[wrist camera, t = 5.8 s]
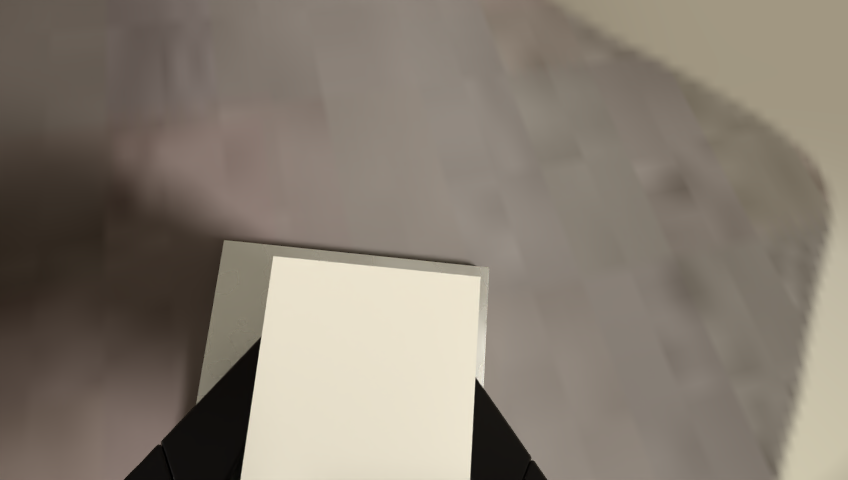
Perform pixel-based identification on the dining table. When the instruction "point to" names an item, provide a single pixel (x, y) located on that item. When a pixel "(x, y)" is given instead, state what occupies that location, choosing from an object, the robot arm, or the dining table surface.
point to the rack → (248, 290)
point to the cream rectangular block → (364, 374)
